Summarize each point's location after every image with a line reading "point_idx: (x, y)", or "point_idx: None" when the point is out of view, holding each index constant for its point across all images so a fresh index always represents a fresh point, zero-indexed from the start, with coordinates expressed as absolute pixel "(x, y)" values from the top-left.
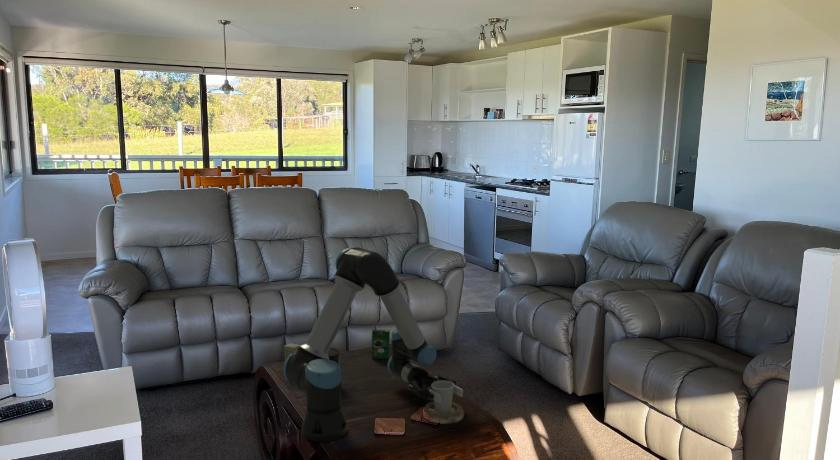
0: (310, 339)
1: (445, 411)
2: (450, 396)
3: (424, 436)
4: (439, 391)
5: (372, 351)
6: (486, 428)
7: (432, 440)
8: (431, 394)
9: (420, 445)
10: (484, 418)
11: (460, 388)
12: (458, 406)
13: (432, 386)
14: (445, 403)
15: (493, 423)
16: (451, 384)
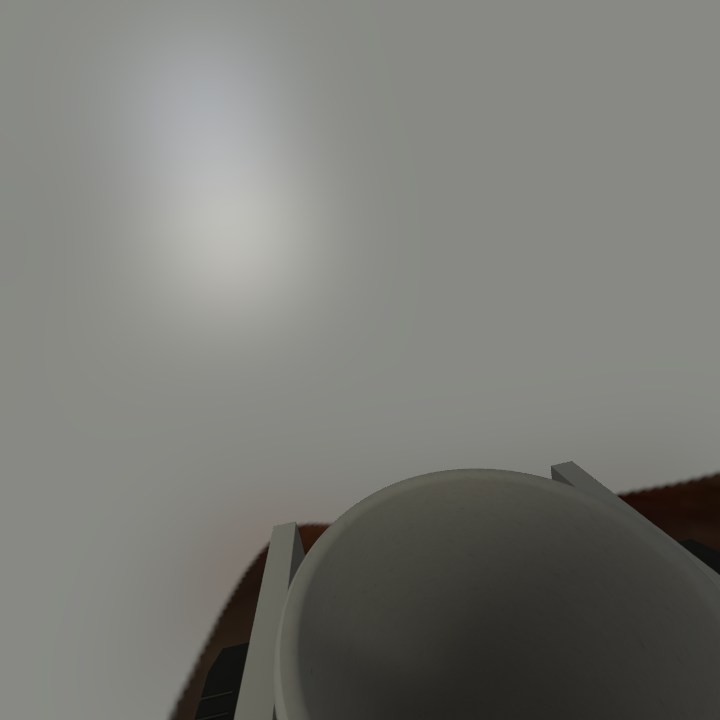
0: None
1: (499, 714)
2: (422, 584)
3: (689, 537)
4: (565, 523)
5: None
6: (320, 530)
7: (626, 499)
8: (696, 554)
9: (693, 478)
10: (239, 624)
11: (275, 550)
12: None
13: (712, 580)
14: (493, 636)
15: (254, 560)
16: (311, 633)
